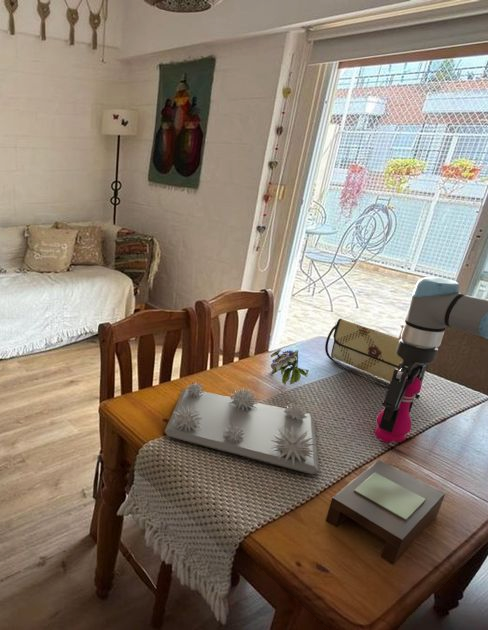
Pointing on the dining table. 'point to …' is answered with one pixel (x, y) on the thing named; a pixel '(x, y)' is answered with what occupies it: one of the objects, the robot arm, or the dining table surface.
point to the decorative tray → (246, 428)
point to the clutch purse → (364, 350)
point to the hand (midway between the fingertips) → (393, 423)
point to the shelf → (388, 506)
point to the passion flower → (283, 362)
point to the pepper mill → (400, 416)
